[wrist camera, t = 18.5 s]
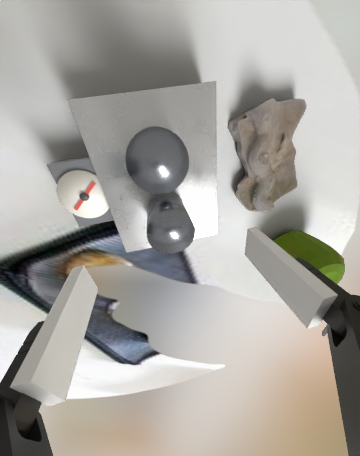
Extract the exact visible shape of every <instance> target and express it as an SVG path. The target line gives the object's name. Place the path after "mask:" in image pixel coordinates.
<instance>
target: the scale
mask: <svg viewBox="0 0 360 456" xmlns="http://www.w3.org/2000/svg"><path fill="white" fill-rule="evenodd" d="M47 166H48V168H49V170H50V172H51V174H52V176H53V177H54V179H55V181H56V183H57V188H56V191H57V196H58V198H59V201H60V202H61V204H62V205H63V206H64V207H65V208H66V209H67V210H68V211H69V212H71V213H73V215H74V217H75V219H76V221H77V223H78V225H79V227H81V226H86V225H91V224H97V223H102V222H107V221H113V220H114V219H113V216H112V214H111V211H110V209H109V206H108V203H107V201H106V198H105V196H104V193H103V190H102V188H101V185H100V183H99V180H98V178H97V175H96V172H95V170H94V167H93V165H92V162H91V159H90V157H89V156H88V157H82V158H75V159H69V160H62V161H58V162H54V163H51V164H48V165H47Z"/></svg>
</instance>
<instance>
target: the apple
mask: <svg viewBox="0 0 360 456" xmlns="http://www.w3.org/2000/svg"><path fill="white" fill-rule="evenodd" d="M273 242H275V243H276V244H277V245H278V246H280V247H281V248H282V249H283V250H284V251H286V252H287V253H288V254H289V255H290V256H292V257H293V258H298V257H299V258H301V259H303V260H305V261H307V262H309V263H310V264H311V265H313V266H314V267H315V268H316V269H318V270H319V271H320V272H322V274H324V275H326V276H327V277H328V278H329V279H331V280H332V281H333V282H335V283H336V284H338V283H339V281H340V280H341V279H342V277H343V275H344V271H345V265H344V259H343V258H342V256H341V255H340V254H339V253H338V252H336V251H335V250H334V249H333V248H332V247H330V246H329V245H327V244H325V243H324V242H322V241H320V240H319V239H317V238H315V237H313V236H311V235H309V234H306V233H304V232H302V231H291V232H288V233H285V234H283V235H281V236H280V237H278V238H276V239H274V240H273Z"/></svg>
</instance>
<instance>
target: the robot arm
mask: <svg viewBox="0 0 360 456" xmlns="http://www.w3.org/2000/svg"><path fill="white" fill-rule="evenodd" d="M245 255H246V256H247V258H248V259H249V260H250V261H251V262H252V264H253V265H254V266H255V267H256V268H257V270H258V271H259V272H260V273H261V274H262V275H263V277H264V278H265V279H266V280H267V281H268V283H269V284H270V285H271V286H272V287H273V289H274V290H275V291H276V292H277V293H278V295H279V296H280V297H281V298H282V299H283V300H284V302H285V303H286V304H287V305H288V306H289V308H290V309H291V310H292V311H293V312H294V314H295V315H296V316H297V317H298V318H299V319H300V321H301V322H302V323H303V324H304V325H305V327H306V328H307V329H308V328H311V327H315V326H318V325H320V323H321V321H322V320H324V321H325V322H326V323H327V326H326V327H325V329H324V330H323V332H322V335H323V336H325V335H326V333H328V338H329V344H330V350H331V355H332V362H333V367H334V373H335V379H336V384H337V390H338V395H339V402H340V407H341V413H342V419H343V425H344V430H345V436H346V442H347V447H348V453H349V456H360V296H357V295H350V294H349V293H347V292H346V291H345V290H344V289H342V288H341V287H339V286H338V285H337V284H336V283H335V282H333V281H332V280H331V279H329V278H328V277H327V276H326V275H324V274H322V272H320V271H319V270H318V269H316V268H315V267H314V266H313V265H311V264H310V263H309V262H307V261H305V260H303V259H301V258H299V257H298V258H293V257H292V256H290V255H289V254H288V253H287V252H286V251H284V250H283V249H282V248H281V247H280V246H278V245H277V244H276V243H275V242H273V241H272V240H271V239H270V238H269V237H267V236H266V235H265V234H264V233H263V232H261V231H260V230H259V229H258V228H257V227H255V228H250V229H248V231H247V239H246V248H245ZM97 291H98V288H97V286H96V285H95V283H94V281H93V280H92V278H91V277H90V275H89V273H88V272H87V270H86V268H85V267H84V265H83V266H78V267H74V268H73V269H72V271H71V272H70V274H69V276H68V278H67V280H66V282H65V284H64V286H63V288H62V289H61V291H60V293H59V295H58V297H57V299H56V301H55V303H54V305H53V306H52V308H51V310H50V312H49V314H48V316H47V318H46V320H45V321H42V322H38V323H37V325H36V326H35V327H34V328H33V329H32V330H31V331H30V332H29V334H28V336H27V338H26V339H25V341H24V343H23V346H21V348H20V350H19V352H18V355H16V357H15V358H14V360H13V362H12V364H11V365H10V367H9V369H8V371H7V372H6V374H5V376H4V378H3V379H2V381H1V383H0V456H53V453H52V450H51V447H50V444H49V440H48V437H47V433H46V430H45V426H44V423H43V420H42V416H41V414H40V413H39V412H38V411H39V408H40V405H41V403H43V404H45V405H47V406H51V405H54V404H57V403H61V402H64V401H65V400H66V397H67V393H68V390H69V386H70V383H71V380H72V376H73V373H74V369H75V366H76V363H77V359H78V356H79V352H80V349H81V346H82V342H83V339H84V335H85V332H86V329H87V325H88V322H89V318H90V315H91V312H92V308H93V305H94V301H95V298H96V295H97Z"/></svg>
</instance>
